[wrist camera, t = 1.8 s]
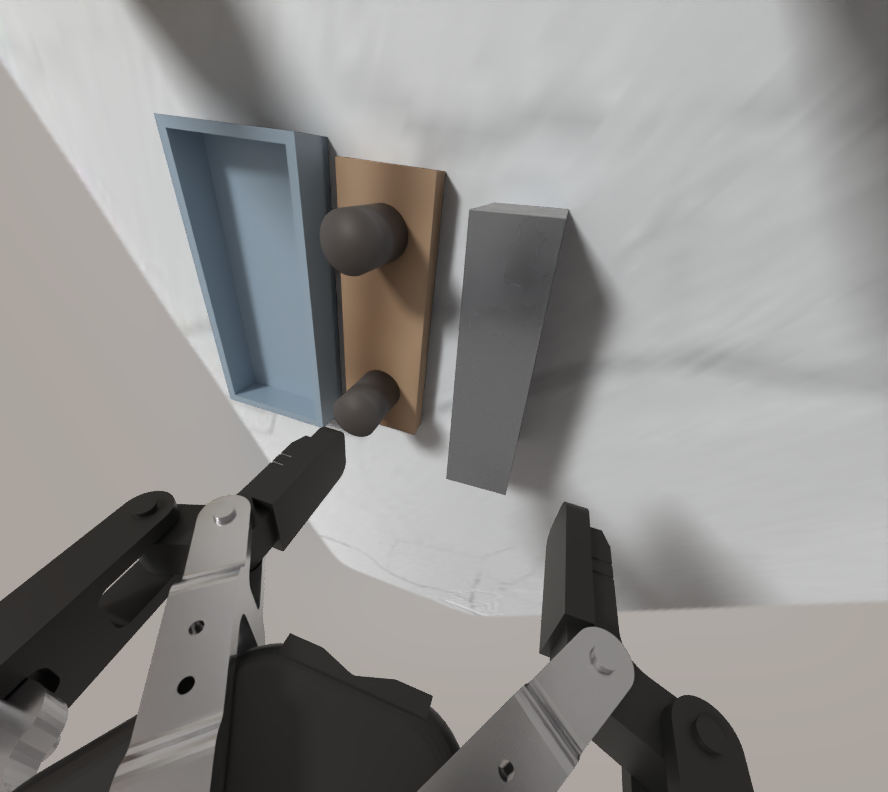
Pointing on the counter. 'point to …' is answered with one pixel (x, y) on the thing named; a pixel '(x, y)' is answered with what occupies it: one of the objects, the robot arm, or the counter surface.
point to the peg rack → (384, 288)
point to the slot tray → (261, 258)
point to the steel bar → (499, 335)
